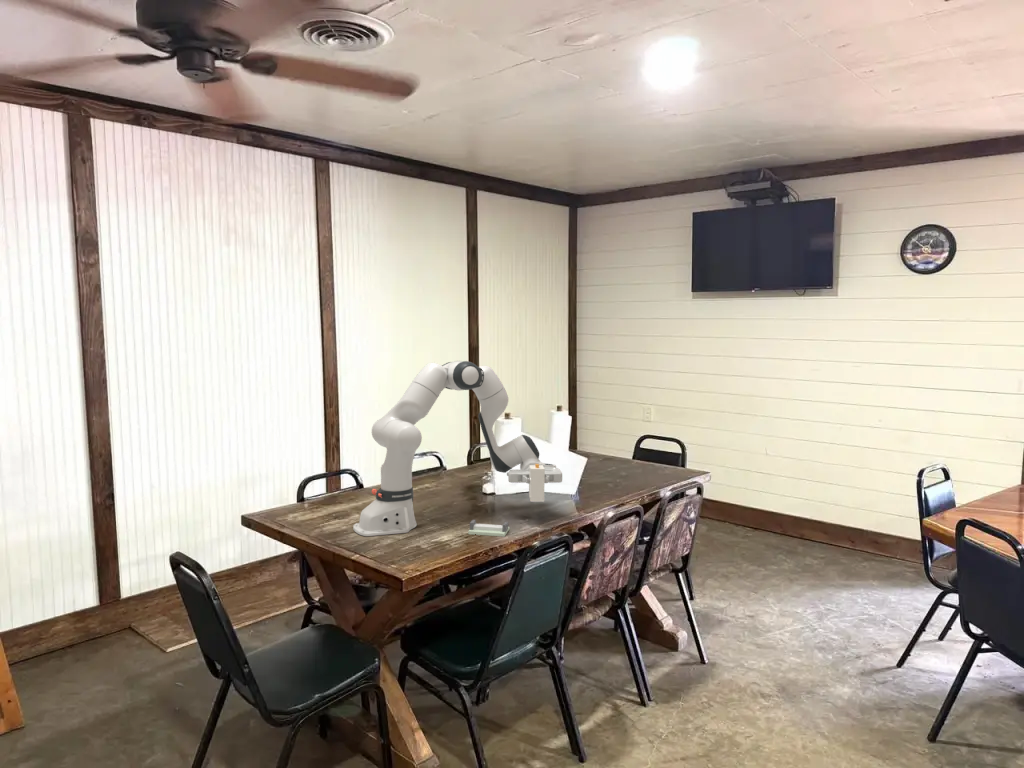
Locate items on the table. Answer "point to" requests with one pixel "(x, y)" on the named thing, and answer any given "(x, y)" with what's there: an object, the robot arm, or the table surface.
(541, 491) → the block
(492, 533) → the rail plate
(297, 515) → the table surface
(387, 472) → the robot arm
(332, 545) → the table surface
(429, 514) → the table surface
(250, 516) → the table surface
